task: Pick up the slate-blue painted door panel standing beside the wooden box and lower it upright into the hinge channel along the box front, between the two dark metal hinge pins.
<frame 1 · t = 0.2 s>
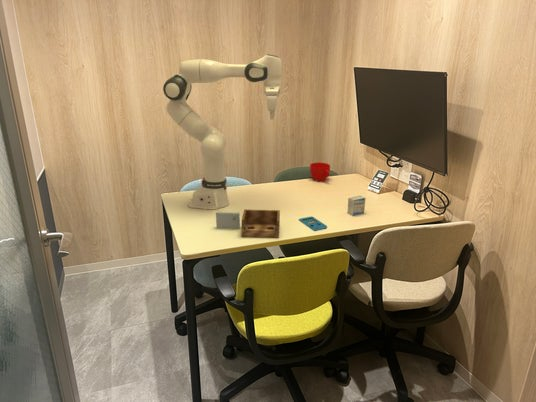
hand: (272, 117, 199), 48 cm above the table, fingers open, 8 cm apart
medicine box: (355, 213, 206), on the table
ceramic cup: (320, 181, 257), on the table
door: (228, 227, 189), on the table
handheld gaming device: (313, 224, 194), on the table
wooden box: (261, 230, 186), on the table
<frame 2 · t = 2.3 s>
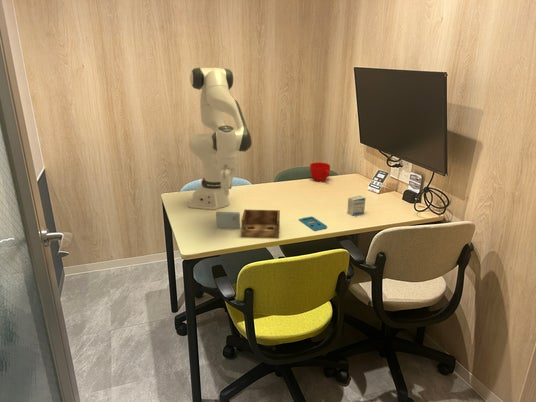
hand: (228, 191, 182), 18 cm above the table, fingers open, 8 cm apart
nothing on the table moved.
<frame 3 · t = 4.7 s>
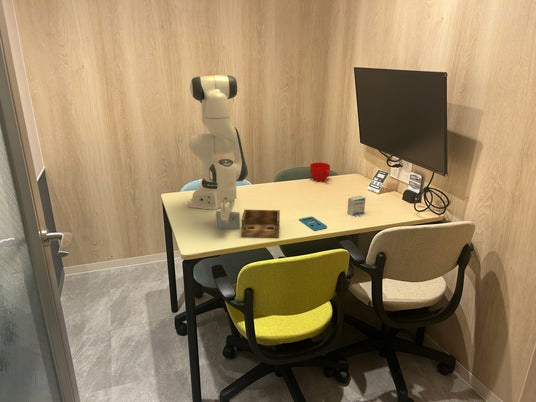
hand: (228, 221, 187), 3 cm above the table, fingers closed on door, 2 cm apart
door: (228, 227, 189), on the table, touching gripper
everything else where it was.
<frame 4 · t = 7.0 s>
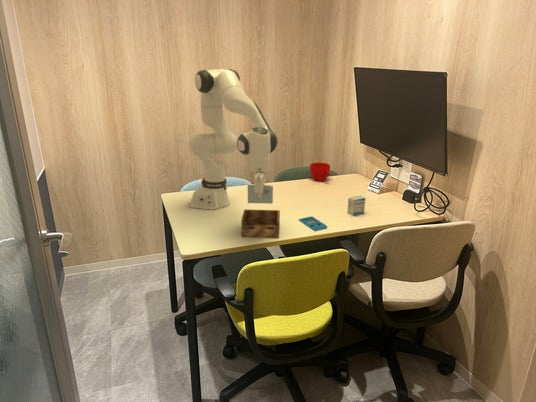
hand: (260, 196, 174), 19 cm above the table, fingers closed on door
door: (260, 202, 176), point 16 cm above the table, touching gripper
everything else where it was.
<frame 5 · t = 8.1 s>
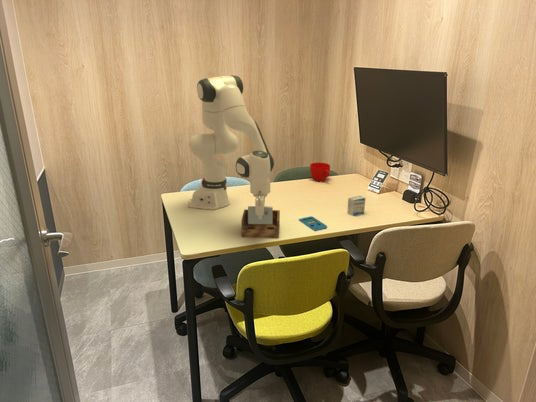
hand: (260, 217, 178), 9 cm above the table, fingers closed on door
door: (260, 223, 179), point 6 cm above the table, touching gripper
everything else where it was.
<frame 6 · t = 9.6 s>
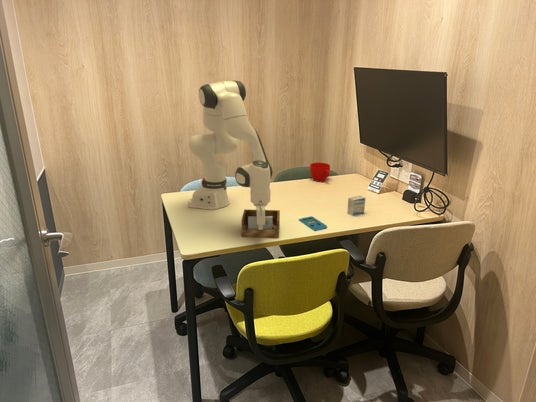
hand: (260, 225, 180), 5 cm above the table, fingers open, 6 cm apart
door: (260, 232, 181), point 1 cm above the table, touching wooden box
everything else where it was.
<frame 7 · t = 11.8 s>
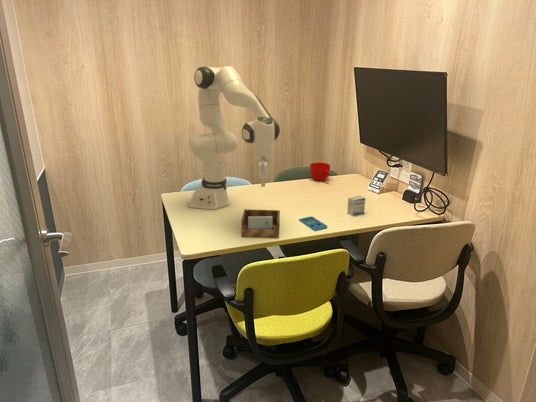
hand: (263, 182, 183), 22 cm above the table, fingers open, 8 cm apart
nothing on the table moved.
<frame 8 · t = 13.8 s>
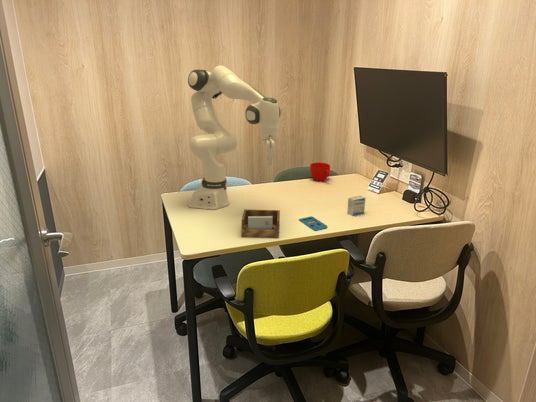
hand: (269, 162, 189), 29 cm above the table, fingers open, 8 cm apart
nothing on the table moved.
at the end: door 0.1 cm from the target spot on the wooden box, point 1.0 cm above the wooden box's base; door tilted 0°; the gripper is holding nothing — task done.
